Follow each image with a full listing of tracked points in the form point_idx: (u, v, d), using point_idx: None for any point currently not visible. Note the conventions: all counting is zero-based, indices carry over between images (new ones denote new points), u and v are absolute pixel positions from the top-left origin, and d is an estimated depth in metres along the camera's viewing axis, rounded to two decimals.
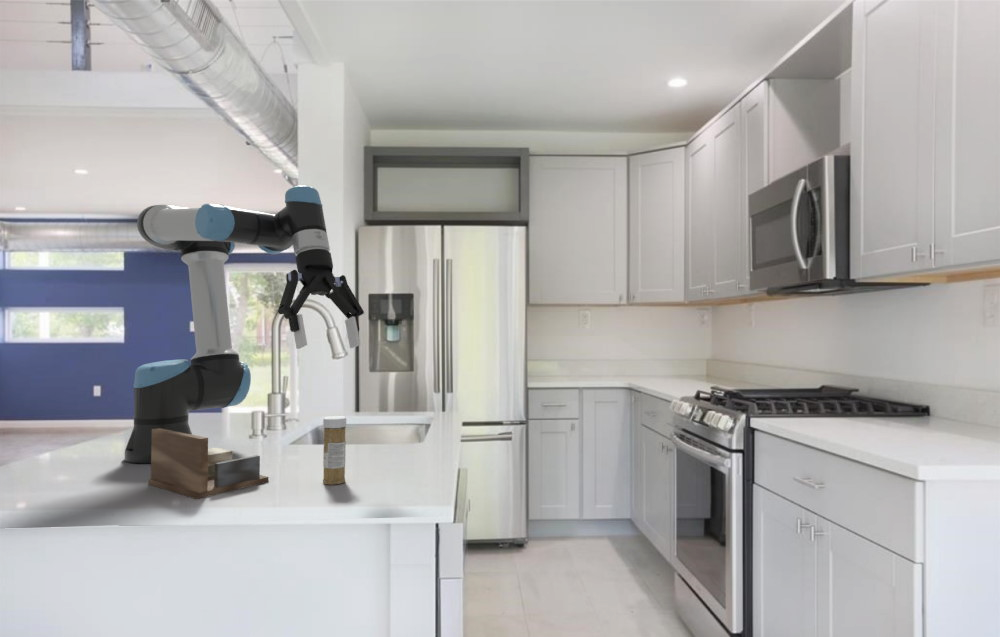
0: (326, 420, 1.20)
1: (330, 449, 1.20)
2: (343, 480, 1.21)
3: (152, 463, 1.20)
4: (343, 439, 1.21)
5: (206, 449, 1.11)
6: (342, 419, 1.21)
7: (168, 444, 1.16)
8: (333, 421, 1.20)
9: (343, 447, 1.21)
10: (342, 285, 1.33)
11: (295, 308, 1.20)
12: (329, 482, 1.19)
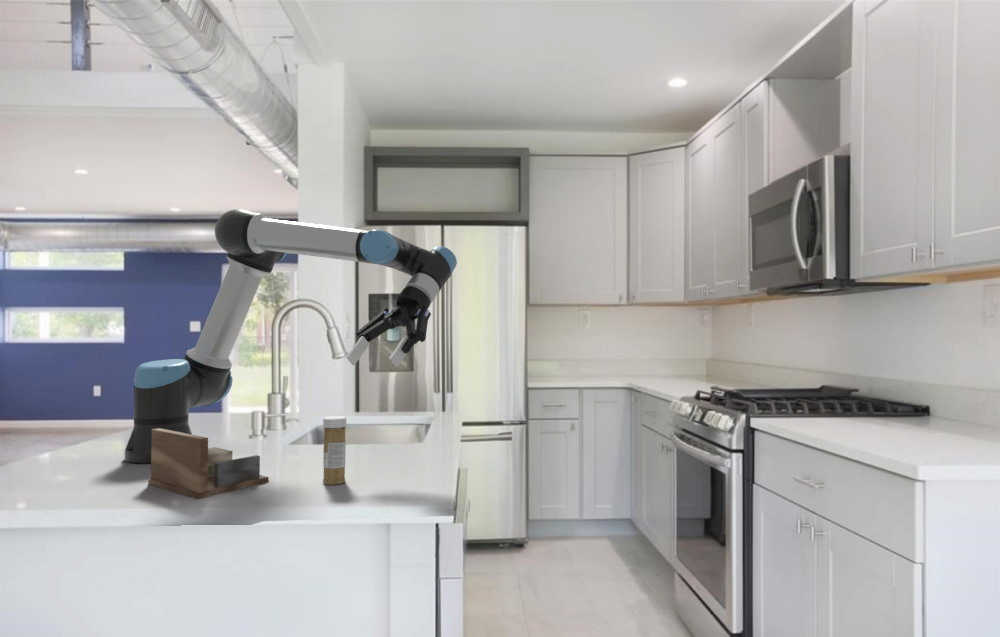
0: (326, 420, 1.20)
1: (330, 449, 1.20)
2: (343, 480, 1.21)
3: (152, 463, 1.20)
4: (343, 439, 1.21)
5: (206, 449, 1.11)
6: (342, 419, 1.21)
7: (168, 444, 1.16)
8: (333, 421, 1.20)
9: (343, 447, 1.21)
10: None
11: None
12: (329, 482, 1.19)
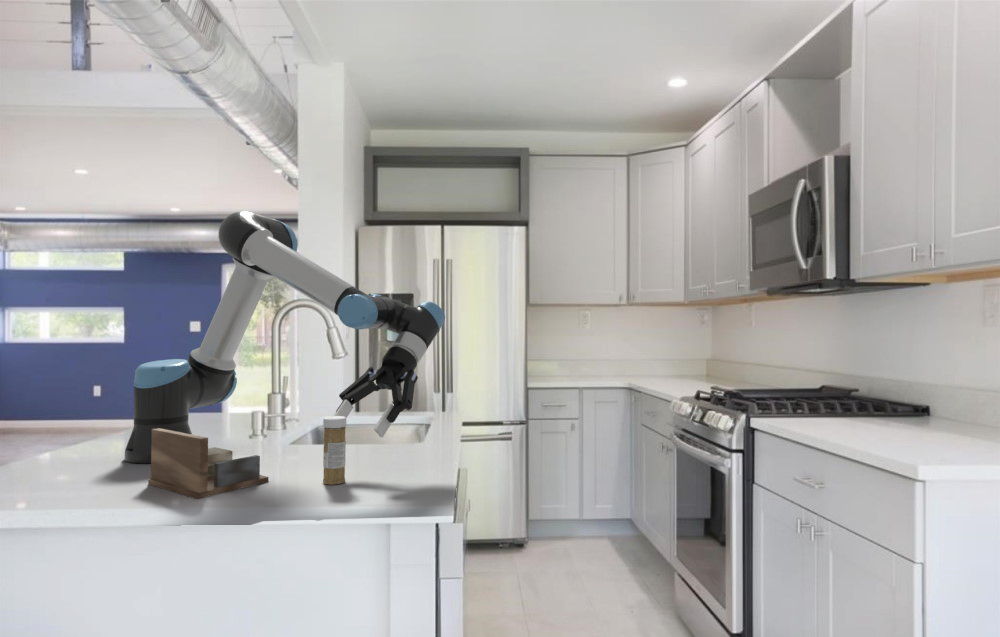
0: (326, 420, 1.20)
1: (330, 449, 1.20)
2: (343, 480, 1.21)
3: (152, 463, 1.20)
4: (343, 439, 1.21)
5: (206, 449, 1.11)
6: (342, 419, 1.21)
7: (168, 444, 1.16)
8: (333, 421, 1.20)
9: (343, 447, 1.21)
10: None
11: None
12: (329, 482, 1.19)
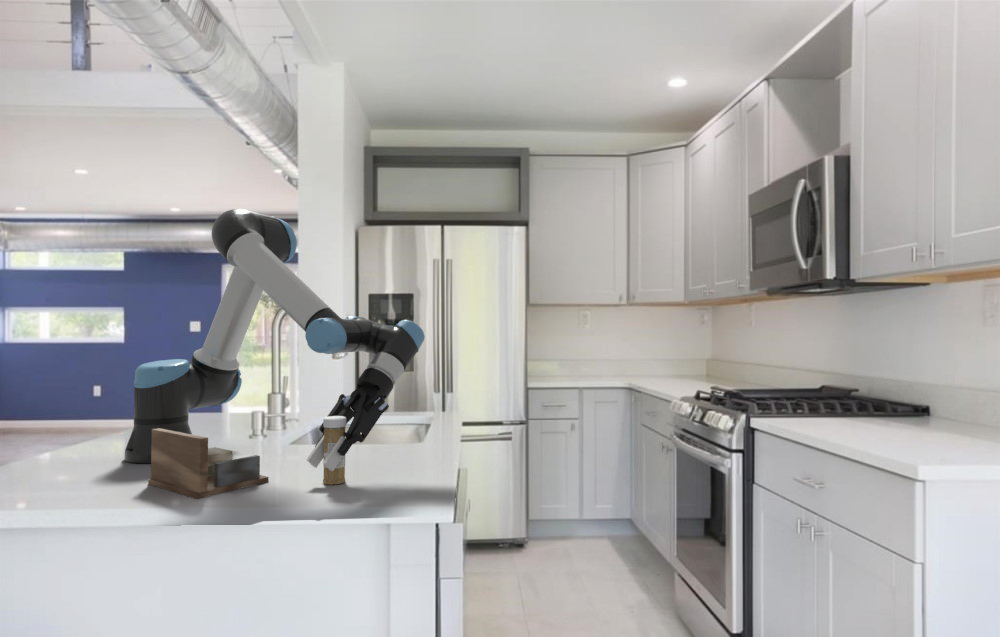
0: (326, 420, 1.20)
1: (330, 449, 1.20)
2: (343, 480, 1.21)
3: (152, 463, 1.20)
4: None
5: (206, 449, 1.11)
6: (342, 419, 1.21)
7: (168, 444, 1.16)
8: (333, 421, 1.20)
9: None
10: None
11: None
12: (329, 482, 1.19)
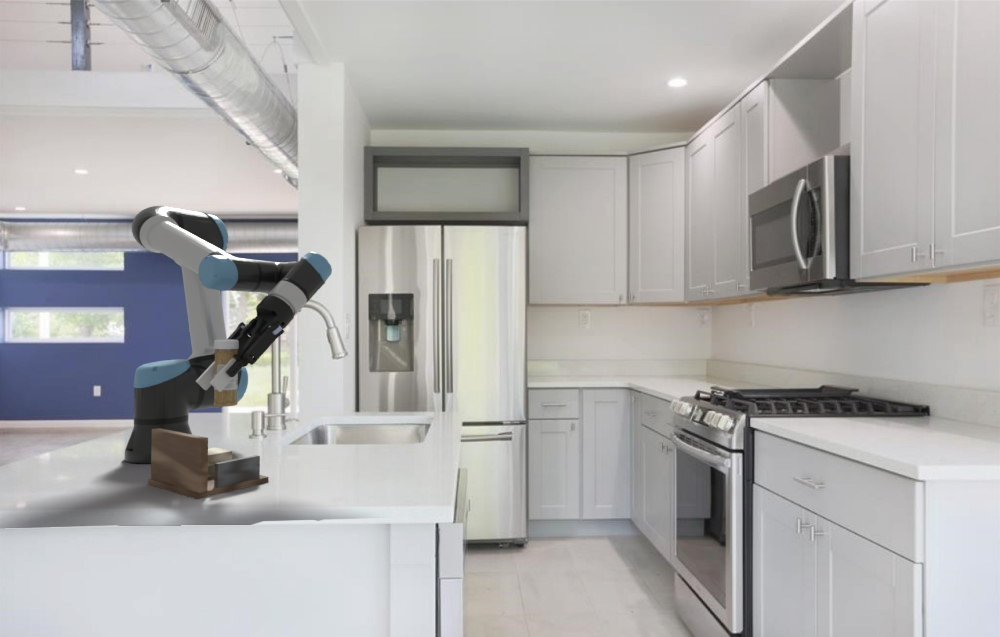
0: (215, 341, 1.19)
1: (219, 370, 1.18)
2: (234, 403, 1.20)
3: (152, 463, 1.20)
4: None
5: (206, 449, 1.11)
6: (233, 341, 1.20)
7: (168, 444, 1.16)
8: (223, 342, 1.18)
9: None
10: None
11: None
12: (218, 404, 1.18)
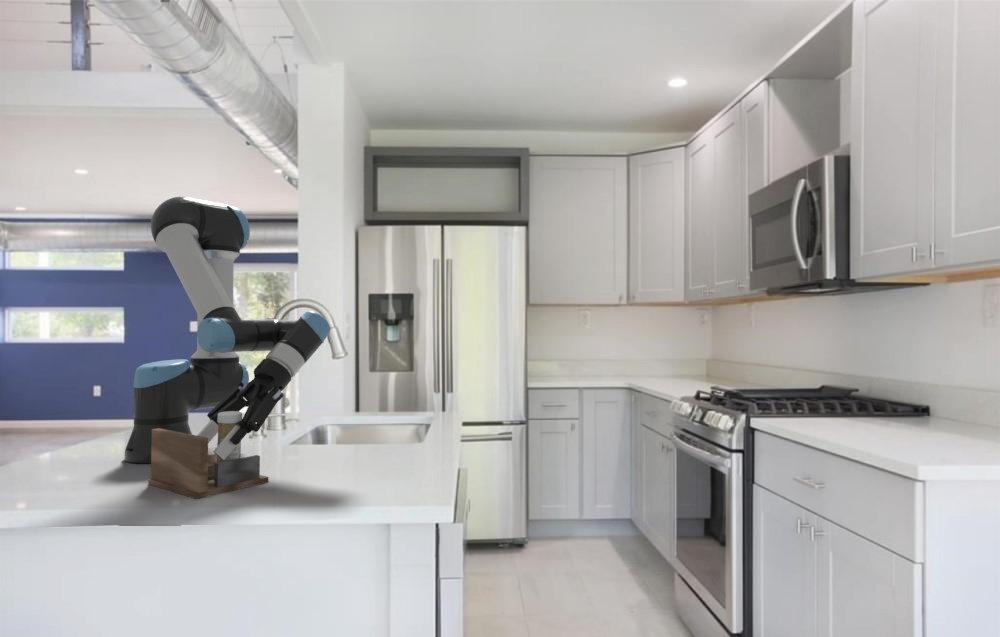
0: (219, 415, 1.18)
1: None
2: None
3: (152, 463, 1.20)
4: None
5: (206, 449, 1.11)
6: (236, 415, 1.19)
7: (168, 444, 1.16)
8: (226, 416, 1.18)
9: None
10: (242, 395, 1.30)
11: None
12: None
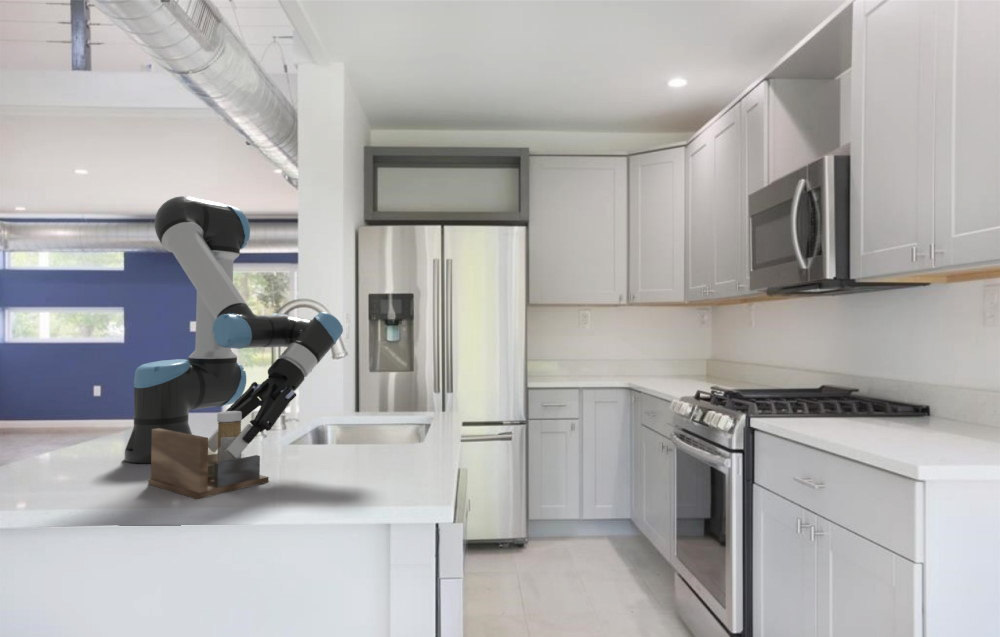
0: (219, 414, 1.19)
1: (223, 443, 1.18)
2: None
3: (152, 463, 1.20)
4: (237, 433, 1.20)
5: (206, 449, 1.11)
6: (236, 413, 1.20)
7: (168, 444, 1.16)
8: (226, 415, 1.19)
9: None
10: (256, 395, 1.32)
11: None
12: None
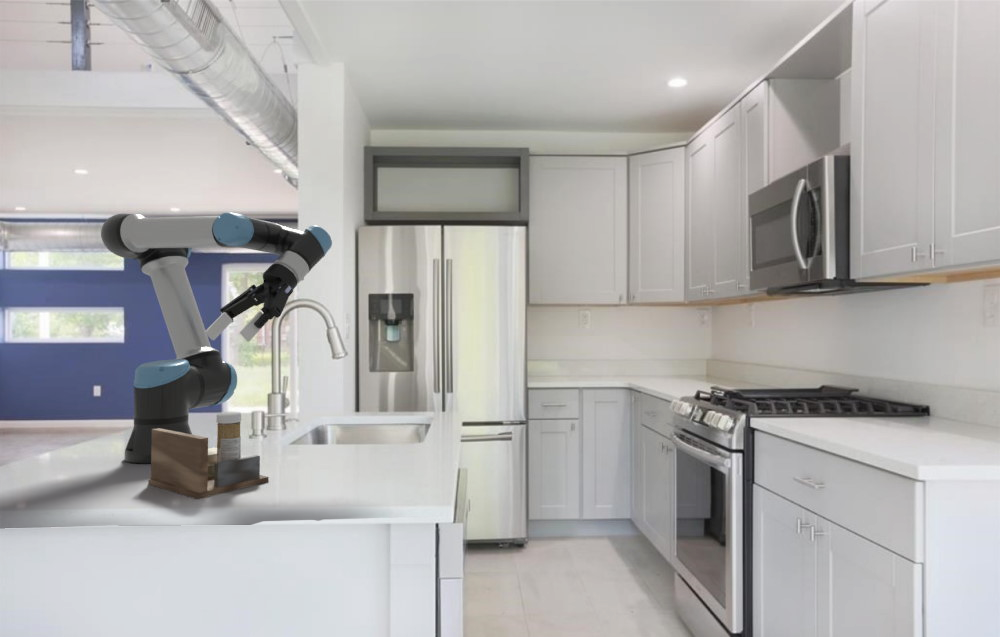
0: (218, 415, 1.18)
1: (223, 444, 1.18)
2: None
3: (152, 463, 1.20)
4: (237, 435, 1.19)
5: (206, 449, 1.11)
6: (236, 414, 1.19)
7: (168, 444, 1.16)
8: (226, 416, 1.18)
9: (237, 443, 1.19)
10: (253, 296, 1.43)
11: None
12: None
